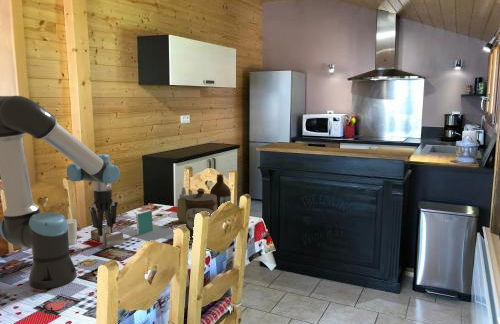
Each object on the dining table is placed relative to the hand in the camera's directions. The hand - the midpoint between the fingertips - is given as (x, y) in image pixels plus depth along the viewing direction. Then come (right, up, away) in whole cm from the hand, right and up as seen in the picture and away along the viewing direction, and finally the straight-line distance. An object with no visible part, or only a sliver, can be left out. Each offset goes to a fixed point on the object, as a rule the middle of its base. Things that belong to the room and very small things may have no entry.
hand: (105, 241), depth 187 cm
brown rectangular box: (-1, 0, +1) cm, 1 cm away
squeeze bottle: (+30, +4, +31) cm, 44 cm away
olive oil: (+49, +4, +28) cm, 57 cm away
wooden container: (+42, +1, +10) cm, 43 cm away
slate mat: (+17, +1, +12) cm, 21 cm away
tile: (+15, +2, +12) cm, 19 cm away
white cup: (-17, -1, 0) cm, 17 cm away
